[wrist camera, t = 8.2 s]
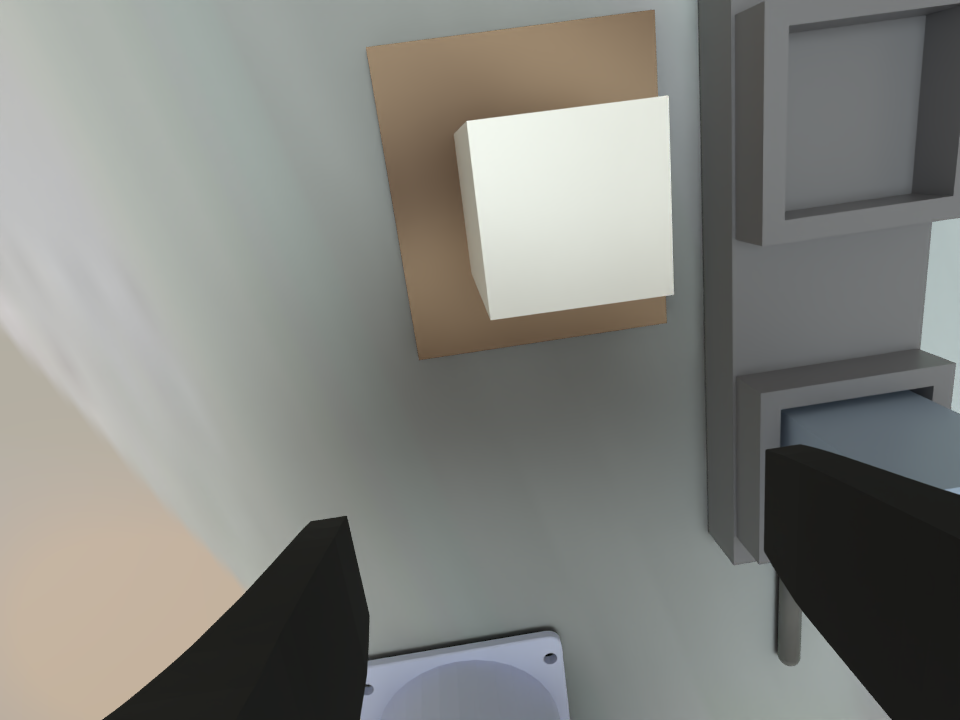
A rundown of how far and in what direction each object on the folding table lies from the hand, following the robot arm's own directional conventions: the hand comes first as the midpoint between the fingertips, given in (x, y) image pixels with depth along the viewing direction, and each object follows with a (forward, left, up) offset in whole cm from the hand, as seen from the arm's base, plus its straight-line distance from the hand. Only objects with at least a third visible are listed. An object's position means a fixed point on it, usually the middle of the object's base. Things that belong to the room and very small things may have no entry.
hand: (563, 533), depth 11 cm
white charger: (+5, -1, -10) cm, 11 cm away
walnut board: (+5, -1, -10) cm, 12 cm away
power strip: (-2, -10, -10) cm, 15 cm away
